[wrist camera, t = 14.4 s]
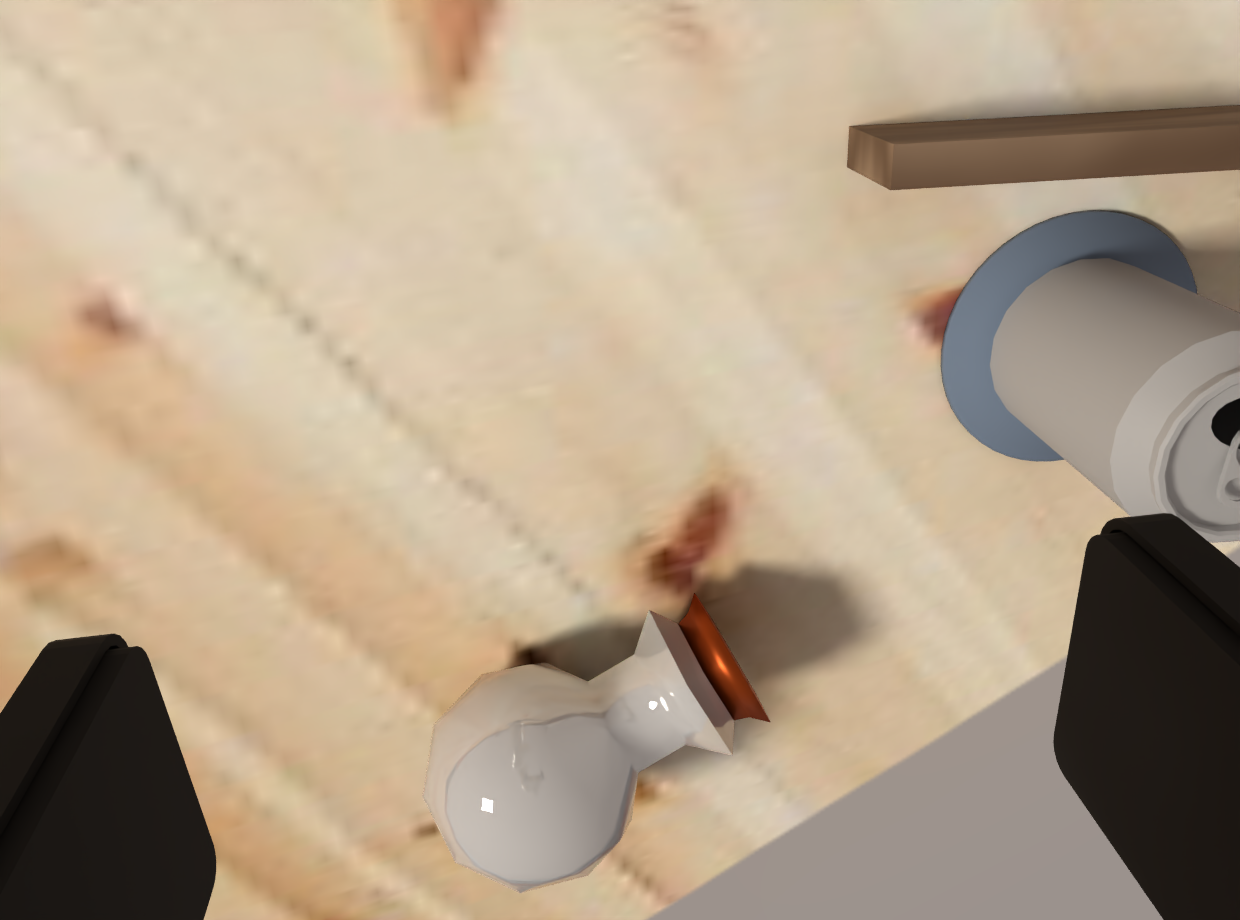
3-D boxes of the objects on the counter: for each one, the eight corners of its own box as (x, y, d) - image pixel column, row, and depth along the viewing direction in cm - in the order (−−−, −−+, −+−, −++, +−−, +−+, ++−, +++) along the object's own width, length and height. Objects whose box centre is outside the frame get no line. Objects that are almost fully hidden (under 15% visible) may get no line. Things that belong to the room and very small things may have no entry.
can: (1181, 263, 41) (1416, 359, 30) (1119, 430, 44) (1312, 571, 33) (1011, 242, 40) (1191, 333, 29) (960, 414, 43) (1105, 554, 32)
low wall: (849, 126, 38) (893, 144, 33) (1348, 99, 39) (1456, 113, 35) (847, 166, 39) (890, 190, 34) (1338, 138, 40) (1443, 157, 35)
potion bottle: (421, 719, 50) (681, 565, 49) (514, 903, 48) (786, 743, 47) (349, 740, 40) (668, 552, 40) (461, 968, 39) (797, 772, 38)
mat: (954, 218, 40) (957, 220, 40) (1218, 202, 41) (1223, 204, 40) (929, 467, 45) (931, 470, 44) (1166, 449, 45) (1170, 451, 45)
